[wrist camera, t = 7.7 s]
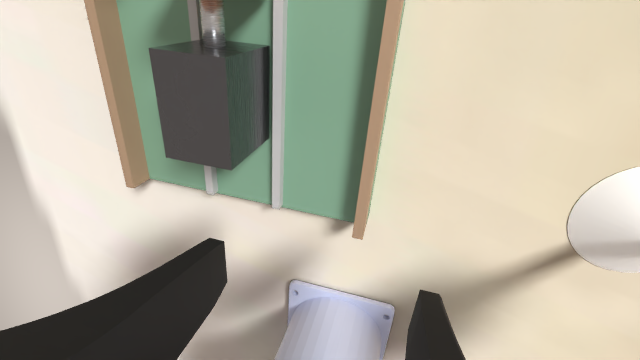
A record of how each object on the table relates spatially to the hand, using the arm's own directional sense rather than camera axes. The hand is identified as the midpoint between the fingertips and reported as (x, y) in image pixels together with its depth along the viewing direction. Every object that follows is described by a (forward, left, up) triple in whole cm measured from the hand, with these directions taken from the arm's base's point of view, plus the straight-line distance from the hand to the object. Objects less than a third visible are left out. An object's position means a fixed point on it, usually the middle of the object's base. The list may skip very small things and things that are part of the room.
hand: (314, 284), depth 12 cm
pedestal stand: (+6, +7, -8) cm, 13 cm away
